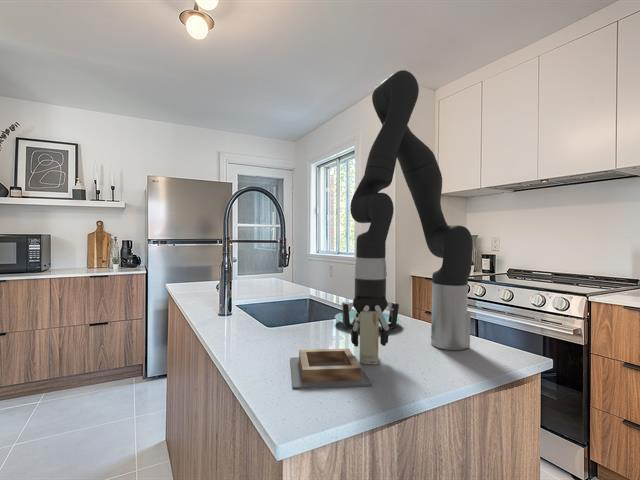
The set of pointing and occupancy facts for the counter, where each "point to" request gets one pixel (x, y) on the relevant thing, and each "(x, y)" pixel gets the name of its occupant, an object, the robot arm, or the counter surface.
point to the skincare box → (369, 337)
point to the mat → (299, 384)
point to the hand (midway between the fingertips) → (369, 345)
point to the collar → (328, 372)
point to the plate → (352, 313)
